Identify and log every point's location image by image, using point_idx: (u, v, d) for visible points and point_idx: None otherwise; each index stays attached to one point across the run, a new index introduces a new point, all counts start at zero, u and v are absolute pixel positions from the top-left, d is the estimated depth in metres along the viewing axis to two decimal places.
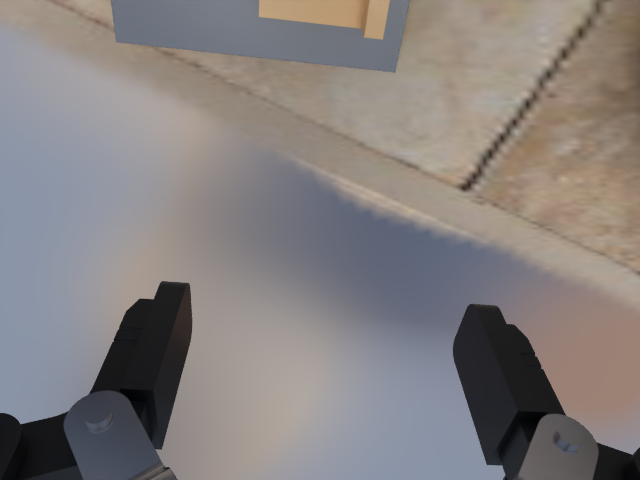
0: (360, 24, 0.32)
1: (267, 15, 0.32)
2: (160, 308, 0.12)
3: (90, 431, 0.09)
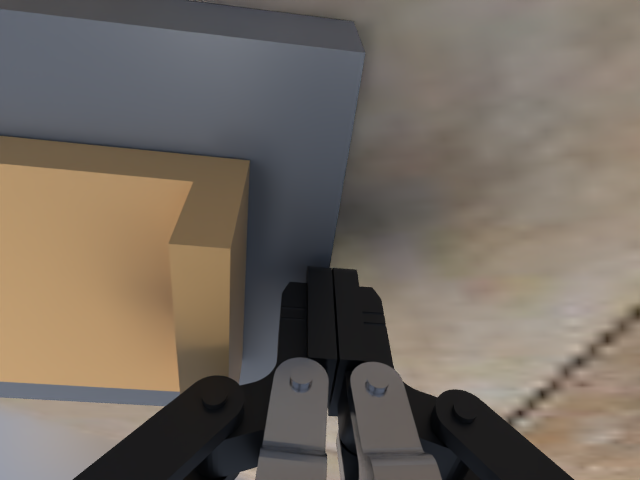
0: None
1: (3, 378, 0.15)
2: (317, 289, 0.13)
3: (300, 392, 0.10)
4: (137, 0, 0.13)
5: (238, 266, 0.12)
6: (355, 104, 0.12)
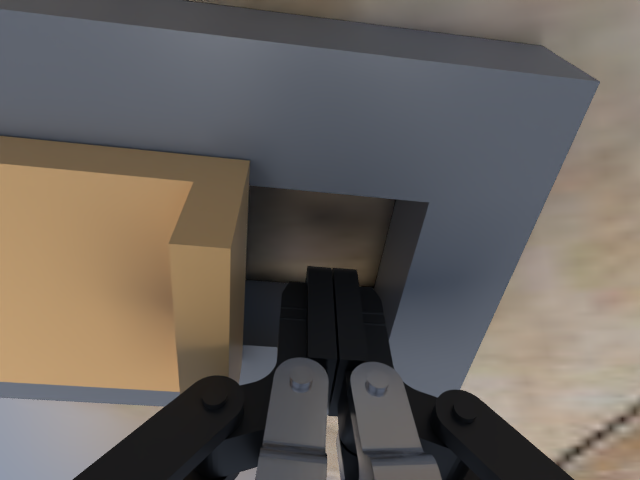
0: None
1: (3, 378, 0.15)
2: (317, 289, 0.13)
3: (300, 392, 0.10)
4: (352, 27, 0.13)
5: (238, 266, 0.12)
6: (576, 129, 0.12)
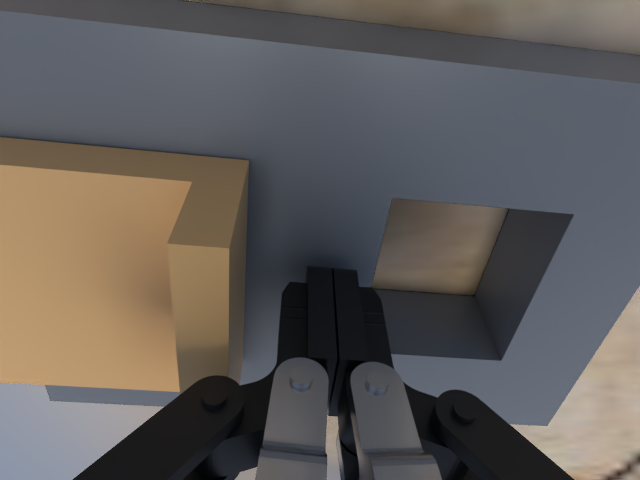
0: None
1: (4, 379, 0.15)
2: (317, 289, 0.13)
3: (300, 392, 0.10)
4: (500, 44, 0.14)
5: (237, 266, 0.12)
6: None
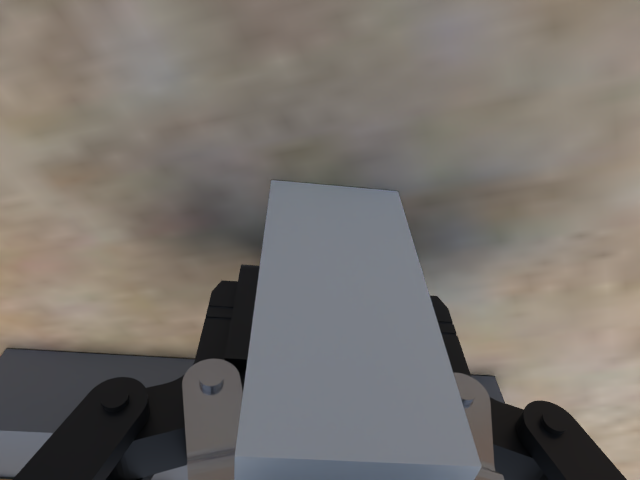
0: None
1: None
2: (246, 288, 0.13)
3: (208, 394, 0.10)
4: None
5: None
6: None
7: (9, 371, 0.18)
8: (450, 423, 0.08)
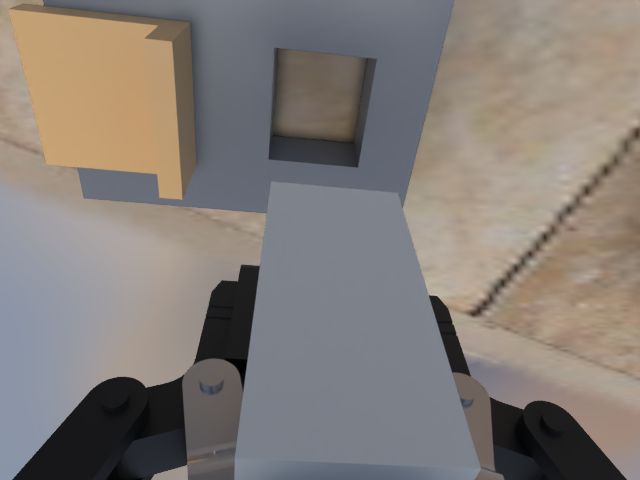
0: None
1: (56, 163, 0.27)
2: (246, 288, 0.13)
3: (208, 393, 0.10)
4: None
5: (182, 71, 0.23)
6: (450, 13, 0.24)
7: None
8: (450, 426, 0.08)
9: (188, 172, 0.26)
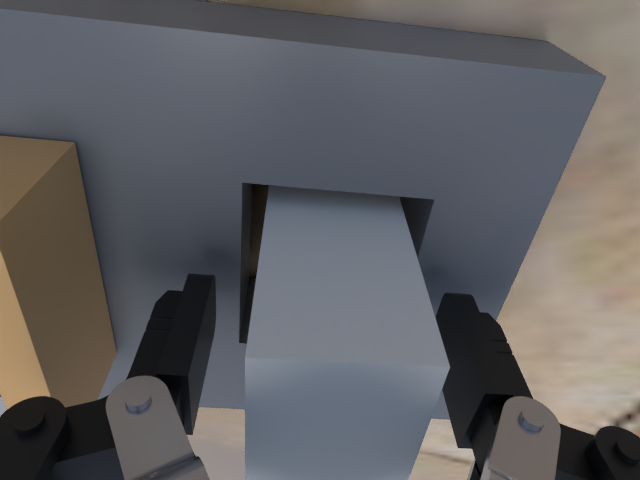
0: None
1: None
2: (189, 299, 0.12)
3: (131, 413, 0.09)
4: (355, 24, 0.13)
5: (51, 250, 0.11)
6: (582, 124, 0.12)
7: None
8: (425, 337, 0.10)
9: (90, 392, 0.15)
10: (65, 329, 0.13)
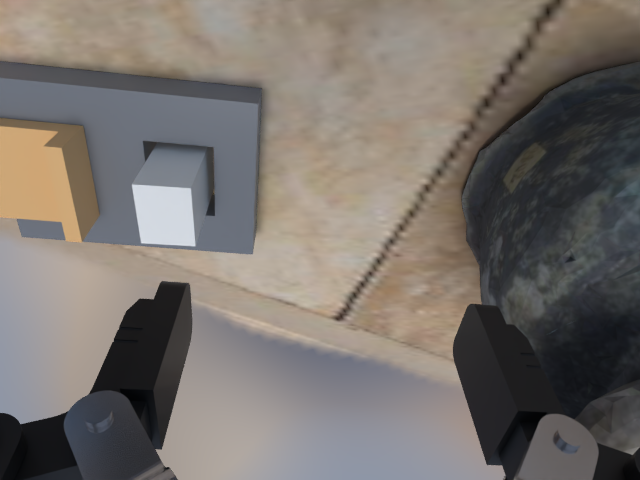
0: None
1: None
2: (160, 308, 0.12)
3: (90, 431, 0.09)
4: (183, 84, 0.37)
5: (75, 160, 0.35)
6: (257, 119, 0.36)
7: (0, 66, 0.36)
8: (188, 182, 0.34)
9: (88, 222, 0.38)
10: (79, 190, 0.36)
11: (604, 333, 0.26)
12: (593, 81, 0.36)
